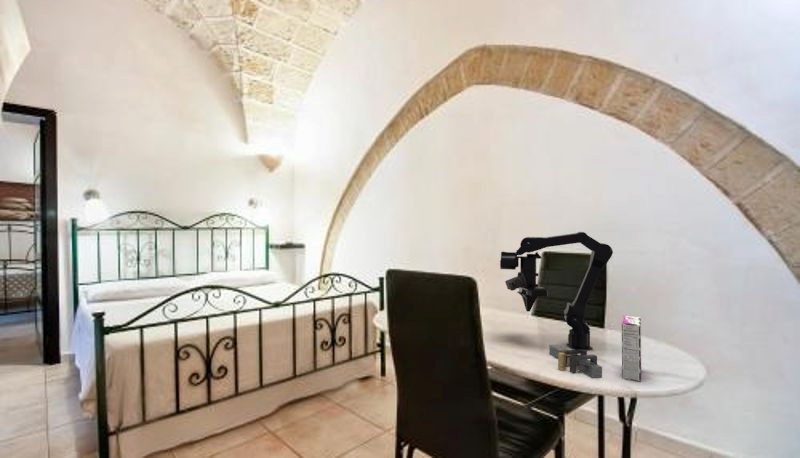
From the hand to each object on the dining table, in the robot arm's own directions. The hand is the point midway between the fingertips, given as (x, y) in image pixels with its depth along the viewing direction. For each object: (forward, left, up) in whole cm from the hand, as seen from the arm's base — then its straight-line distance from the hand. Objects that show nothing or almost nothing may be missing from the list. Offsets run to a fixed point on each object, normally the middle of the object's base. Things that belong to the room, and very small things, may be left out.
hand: (528, 311), depth 148 cm
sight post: (+2, +27, -12) cm, 30 cm away
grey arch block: (-3, +25, -12) cm, 28 cm away
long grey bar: (-4, +24, -12) cm, 27 cm away
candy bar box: (-16, +34, -12) cm, 40 cm away
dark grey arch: (-3, +30, -12) cm, 32 cm away
